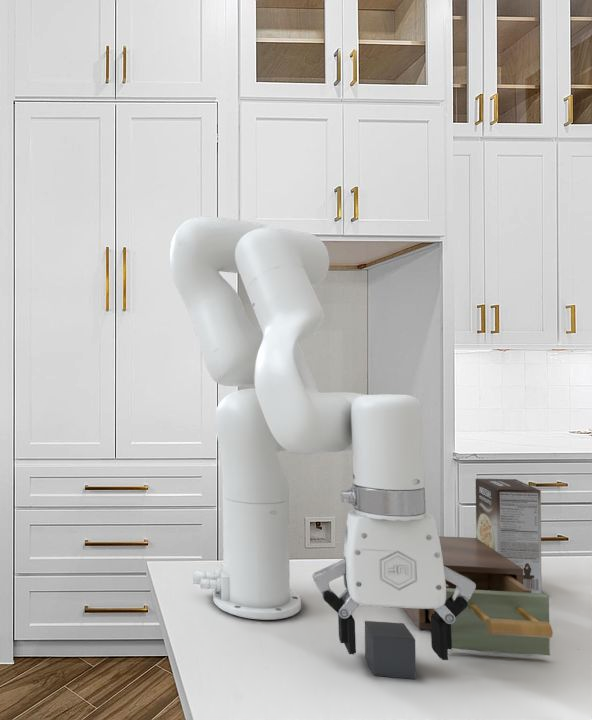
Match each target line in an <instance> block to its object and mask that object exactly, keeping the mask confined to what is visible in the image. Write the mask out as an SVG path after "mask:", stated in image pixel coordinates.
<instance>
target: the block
mask: <svg viewBox="0 0 592 720" xmlns="http://www.w3.org/2000/svg"><path fill="white" fill-rule="evenodd" d="M416 651H417V650H416V638H415V637H414V635H412V633H411V632H410V630H409V629H408V627H407V626H406V624H405V623H403V622H389V621H388V622H387V621H374V620H373V621H372V620H364V658H365V660H366V662H367V664H368V666H369V668H370V671H371V673H372V674H373V676H375V677H387V678H398V679H408V680H409V679H410V680H416V678H417V663H416V662H417V661H416V660H417V659H416V656H417V655H416Z"/></svg>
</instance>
